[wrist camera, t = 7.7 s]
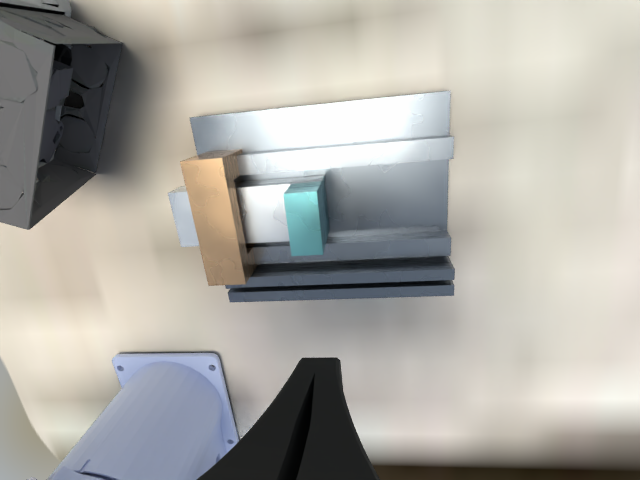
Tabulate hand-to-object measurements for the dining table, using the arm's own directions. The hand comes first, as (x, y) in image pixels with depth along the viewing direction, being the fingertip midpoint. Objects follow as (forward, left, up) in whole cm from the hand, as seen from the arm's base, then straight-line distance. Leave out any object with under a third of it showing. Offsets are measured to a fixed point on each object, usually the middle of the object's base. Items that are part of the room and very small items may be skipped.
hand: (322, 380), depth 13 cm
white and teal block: (+4, +4, -9) cm, 11 cm away
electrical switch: (+10, +13, -10) cm, 20 cm away
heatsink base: (+4, 0, -10) cm, 11 cm away
